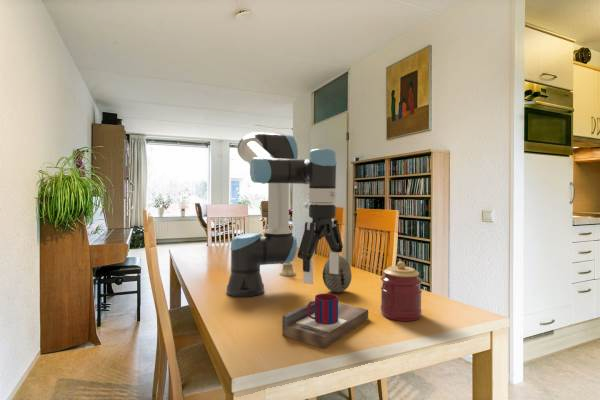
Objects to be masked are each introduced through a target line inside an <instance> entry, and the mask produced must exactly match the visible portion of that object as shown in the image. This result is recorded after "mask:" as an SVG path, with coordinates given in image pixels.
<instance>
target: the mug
mask: <svg viewBox="0 0 600 400" xmlns="http://www.w3.org/2000/svg"><path fill="white" fill-rule="evenodd" d="M312 303H315V317H312V316H311V315H310V306H311V304H312ZM338 303H339V296H338V295H337V294H334V293H318V294H316V295H314V300H312V301H309V302H308V303H307V304H308V306H307V314H308V316H309V317H310V318H312V319H315V321H316V322H317V323H320V324H334V323H337V322H338Z"/></svg>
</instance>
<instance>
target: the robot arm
mask: <svg viewBox="0 0 600 400" xmlns="http://www.w3.org/2000/svg"><path fill="white" fill-rule="evenodd" d="M298 152H299V151H298V144H297V141H296V139H295V137H294V136H293V135H292V134H286V133H275V132H273V133H271V132H259V131H258V132H251V133H248V134H246V135H245V136H243V137H242V138H240V140H239V141H238V144H237V153H238V155H239V157H240V159H241V160H243V161H244V162H247V163H248V164H249V175H250V180H251V181H252V182H253V183H258V184H263V185H265V184H268V185H267V186H268V187H267V191H268V192H267V193H268V195H267V196H268V197H267V202H268V206H267V213H268V216H267V229H265V230H264V234H263V235H264V236H263V235H262V236H261V234H260V233H259V232H250V233H249V232H248V233H244V234H243V233H242V234H238V235H236V236H233V237H232V239H231V241H230V276H229V278H228V279H229V280H228V283H227V285H226V294H227V295H229V296H232V297H236V298H237V297H238V298H245V297H246V298H247V297H248V298H249V297H255V296H259V295H261V294H263V293H264V292H265V285H264V283H263V279H262V275H261V266H265V265H283V264H284V263H292V262H293V261H294V260H295V257H296V255H297V258H299V259H301V260H302V274H303V276H302V277H303V279H302V282H303V283H304V284H309V285H313V284H314V259H312V258H313V255H314V253H315V251H316V248H317V247H318V244H319V242H320V240H321V239H322V238H324V239H325V240H326V242H327V244H328V246H329V249H330V250H331V251H329V258H330V261H329V273H332V274H338V262H339V256H340V253H342V252H343V248H344V244H343V241H342V237H341V233H340V229H339V221H338V219H334V218H336V205H335V204H334V203H336V195H337V193H336V187H337V184H336V183H337V178H336V177H337V160H336V159H337V156H336V151H335V150H334V149H330V148H315V149H314V148H313V149H311V150H310V151H309V157H308V159H307V158H306V159H303V158H298V156H299V153H298ZM290 184H294V185H295V184H297V185H298V184H300V185H301V184H302V185H309V186H308V188H309V190H308V202H309V203H310V204H309V206H308V216H309V218H311V219H312V220H311V221H310V222H308V221H306V222H304V230H303V234H302V238H301V241H300V245H299V248H298V243H297V237H296V236H295V235H293V231H292V230H291V229H290V226H289V224H290V222H289V221H290V220H289V219H290V217H289V216H290V215H289V214H290V213H289V212H290V211H289V210H290V199H289V198H290V192H289V191H290ZM297 249H298V251H297Z"/></svg>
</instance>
